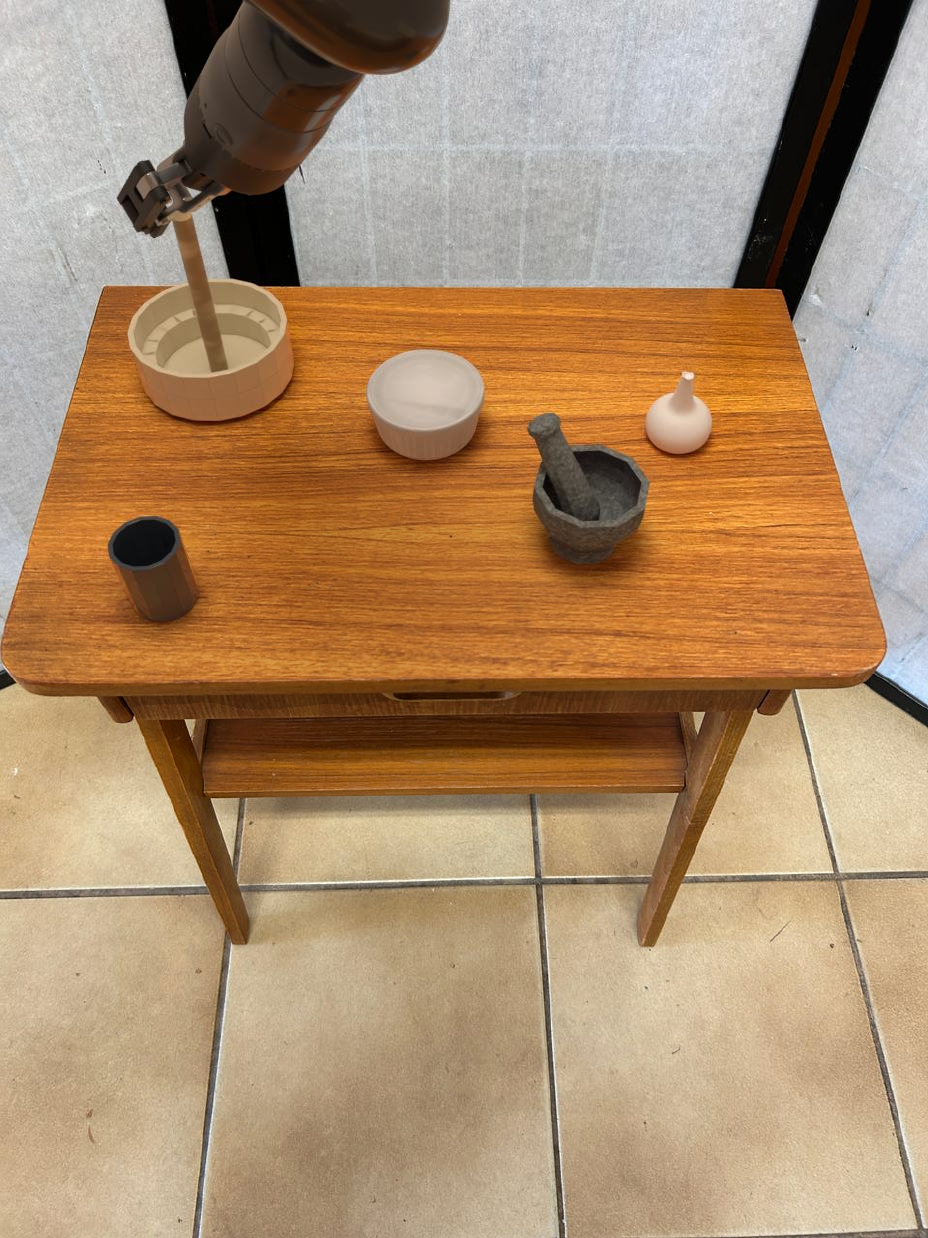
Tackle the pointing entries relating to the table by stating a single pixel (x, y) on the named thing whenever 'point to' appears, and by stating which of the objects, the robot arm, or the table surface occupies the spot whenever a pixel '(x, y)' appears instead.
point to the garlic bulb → (679, 419)
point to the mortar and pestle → (585, 494)
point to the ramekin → (425, 403)
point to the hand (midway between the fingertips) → (197, 202)
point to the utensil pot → (154, 568)
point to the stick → (200, 290)
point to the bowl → (180, 361)
